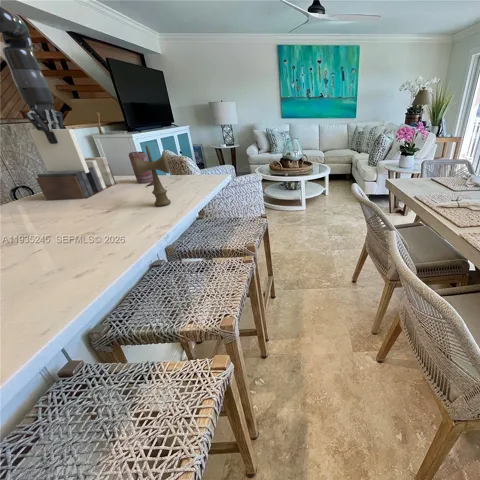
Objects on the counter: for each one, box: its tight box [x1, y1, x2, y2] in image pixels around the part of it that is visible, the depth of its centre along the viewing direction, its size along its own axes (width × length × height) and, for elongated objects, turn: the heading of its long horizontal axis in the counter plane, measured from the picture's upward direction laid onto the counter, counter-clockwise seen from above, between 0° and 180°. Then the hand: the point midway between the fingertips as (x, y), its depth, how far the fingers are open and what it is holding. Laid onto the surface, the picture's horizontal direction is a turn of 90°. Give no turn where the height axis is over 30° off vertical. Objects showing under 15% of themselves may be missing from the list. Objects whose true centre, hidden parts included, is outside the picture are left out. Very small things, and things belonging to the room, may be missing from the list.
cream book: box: [28, 128, 89, 173], centre depth 94 cm, size 12×2×15 cm, turn 99°
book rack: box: [35, 156, 118, 202], centre depth 102 cm, size 14×22×12 cm, turn 9°
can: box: [128, 150, 154, 188], centre depth 114 cm, size 6×6×14 cm
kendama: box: [133, 145, 172, 207], centre depth 89 cm, size 6×10×20 cm, turn 113°
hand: (56, 142), depth 93 cm, fingers closed on cream book, 2 cm apart
